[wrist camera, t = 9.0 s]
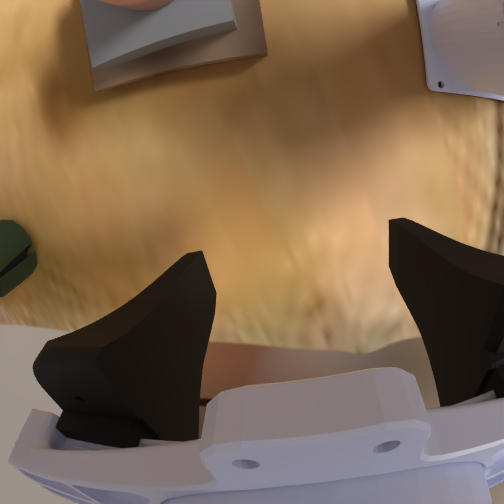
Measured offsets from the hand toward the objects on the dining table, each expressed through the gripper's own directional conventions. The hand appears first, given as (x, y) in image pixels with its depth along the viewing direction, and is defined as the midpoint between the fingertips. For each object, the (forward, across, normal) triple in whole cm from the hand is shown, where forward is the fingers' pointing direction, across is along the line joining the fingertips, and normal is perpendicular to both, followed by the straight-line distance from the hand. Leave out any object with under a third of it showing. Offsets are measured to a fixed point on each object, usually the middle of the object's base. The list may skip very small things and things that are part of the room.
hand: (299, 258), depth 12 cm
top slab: (+9, +5, -14) cm, 17 cm away
